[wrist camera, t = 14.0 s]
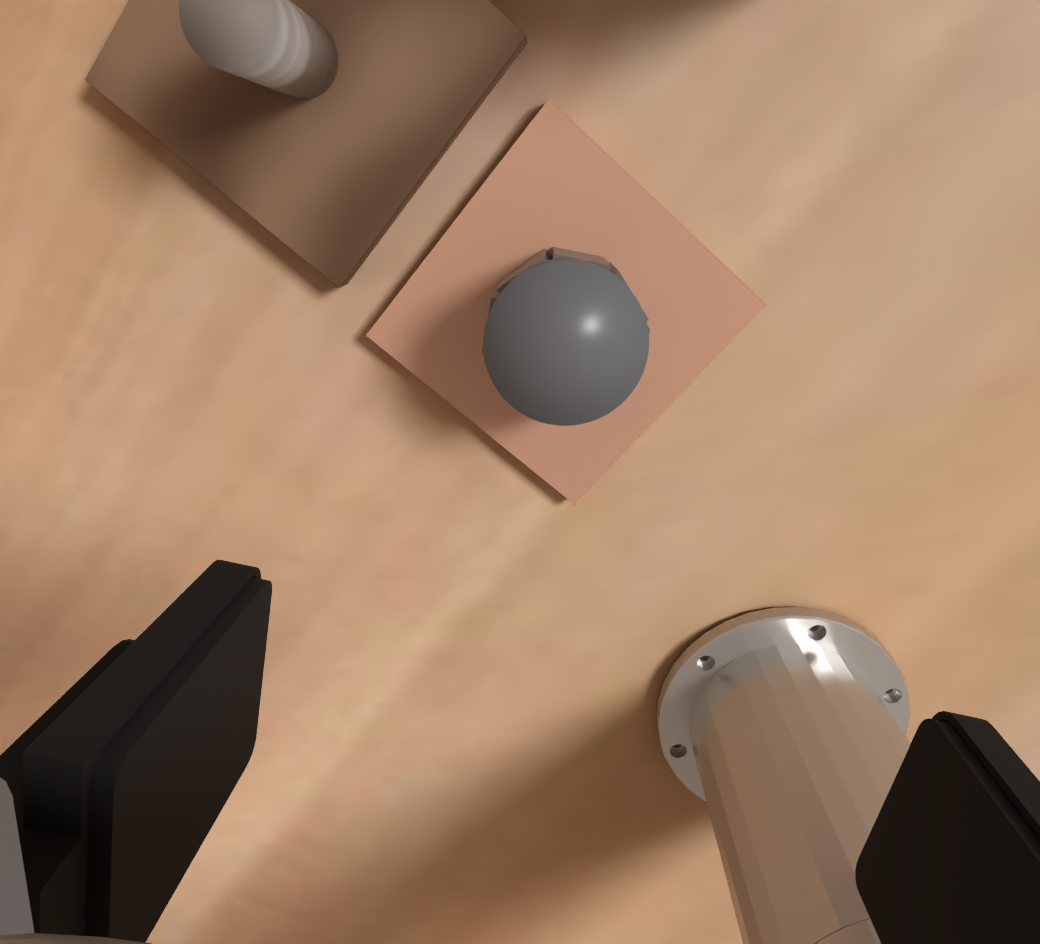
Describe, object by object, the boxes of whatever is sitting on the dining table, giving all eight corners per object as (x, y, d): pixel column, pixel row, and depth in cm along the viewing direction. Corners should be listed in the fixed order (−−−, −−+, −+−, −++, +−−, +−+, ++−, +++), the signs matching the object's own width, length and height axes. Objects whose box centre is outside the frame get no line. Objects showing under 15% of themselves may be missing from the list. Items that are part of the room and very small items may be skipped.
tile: (760, 301, 32) (766, 304, 31) (573, 496, 36) (574, 504, 35) (549, 101, 30) (549, 98, 29) (370, 331, 33) (365, 335, 32)
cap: (615, 404, 33) (627, 439, 28) (481, 378, 33) (470, 408, 28) (649, 266, 31) (667, 279, 26) (506, 237, 31) (499, 244, 26)
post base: (527, 42, 29) (518, -14, 21) (347, 283, 33) (282, 312, 25) (271, -203, 27) (153, -370, 19) (106, 85, 30) (-52, 46, 22)
